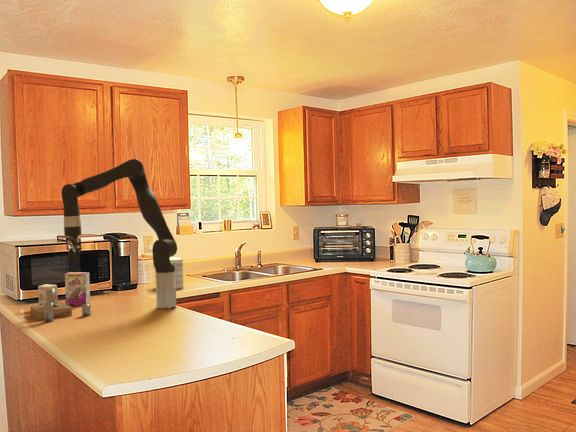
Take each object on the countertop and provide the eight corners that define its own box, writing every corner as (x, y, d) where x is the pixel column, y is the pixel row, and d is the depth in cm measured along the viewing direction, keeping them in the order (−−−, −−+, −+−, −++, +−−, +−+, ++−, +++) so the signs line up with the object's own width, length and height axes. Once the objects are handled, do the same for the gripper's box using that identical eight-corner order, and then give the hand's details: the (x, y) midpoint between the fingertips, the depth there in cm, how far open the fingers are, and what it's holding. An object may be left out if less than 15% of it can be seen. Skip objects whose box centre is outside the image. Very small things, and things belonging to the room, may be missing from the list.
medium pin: (53, 321, 222) (53, 303, 222) (44, 322, 220) (44, 303, 220) (53, 320, 225) (53, 302, 225) (44, 321, 223) (44, 302, 223)
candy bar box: (65, 305, 258) (63, 273, 258) (70, 303, 263) (69, 272, 263) (86, 305, 257) (84, 273, 256) (90, 303, 262) (89, 271, 261)
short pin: (91, 315, 232) (91, 304, 232) (83, 316, 230) (83, 305, 230) (89, 314, 235) (88, 303, 235) (81, 315, 233) (80, 304, 233)
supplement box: (157, 287, 311) (156, 258, 310) (179, 285, 316) (178, 257, 316) (161, 290, 299) (160, 260, 298) (184, 288, 304) (183, 258, 304)
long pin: (56, 315, 235) (55, 289, 235) (48, 316, 233) (47, 290, 232) (54, 314, 238) (53, 288, 237) (46, 315, 235) (45, 289, 235)
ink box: (38, 309, 251) (37, 285, 251) (47, 307, 255) (46, 283, 255) (49, 310, 247) (48, 286, 247) (58, 308, 251) (57, 284, 251)
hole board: (72, 315, 233) (71, 306, 233) (38, 320, 225) (38, 311, 224) (62, 310, 246) (62, 302, 246) (30, 315, 237) (30, 306, 237)
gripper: (85, 225, 240) (87, 259, 241) (75, 225, 251) (77, 258, 252) (69, 226, 236) (71, 261, 236) (59, 226, 246) (61, 259, 247)
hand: (74, 259), depth 244 cm, fingers open, 8 cm apart
